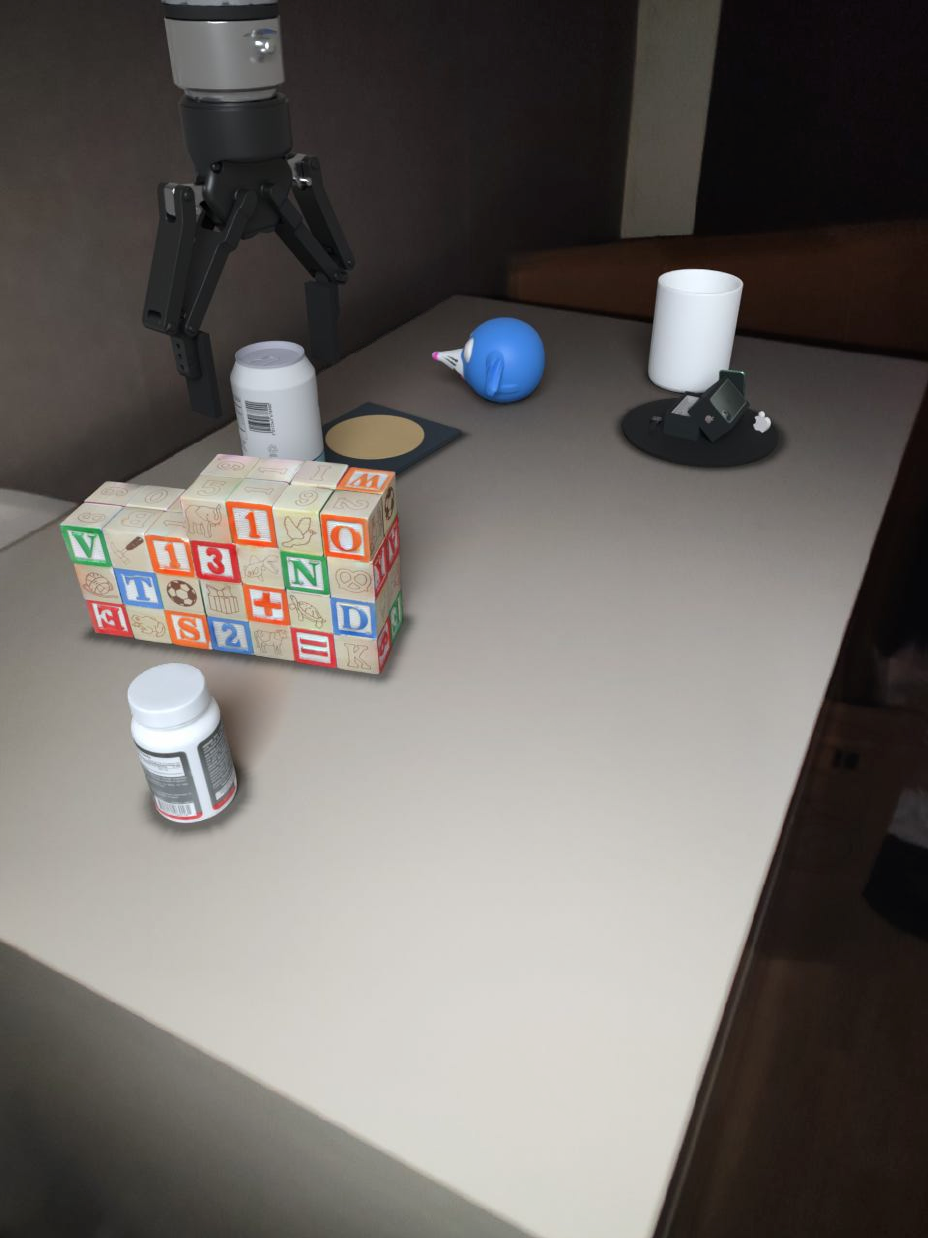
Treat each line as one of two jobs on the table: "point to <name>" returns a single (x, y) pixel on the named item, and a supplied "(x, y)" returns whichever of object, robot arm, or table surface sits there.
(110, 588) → the stack of blocks
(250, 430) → the beverage can
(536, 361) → the blue mole toy
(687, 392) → the apple device display stand
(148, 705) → the pill bottle
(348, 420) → the mat
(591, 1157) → the table surface
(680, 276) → the mug
